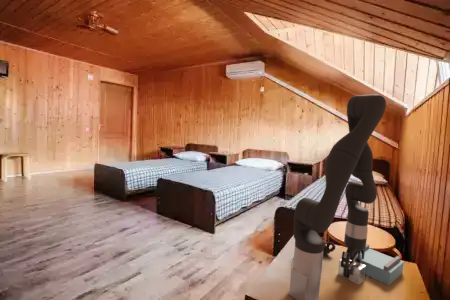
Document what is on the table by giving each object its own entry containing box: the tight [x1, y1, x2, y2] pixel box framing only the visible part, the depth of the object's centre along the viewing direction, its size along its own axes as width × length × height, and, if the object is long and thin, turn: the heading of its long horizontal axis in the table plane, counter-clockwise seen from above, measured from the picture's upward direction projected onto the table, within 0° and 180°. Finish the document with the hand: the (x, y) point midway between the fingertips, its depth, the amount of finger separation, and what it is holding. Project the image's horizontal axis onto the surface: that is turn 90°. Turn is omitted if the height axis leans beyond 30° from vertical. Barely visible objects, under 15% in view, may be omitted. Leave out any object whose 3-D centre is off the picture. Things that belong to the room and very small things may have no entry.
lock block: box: [337, 258, 366, 285], centre depth 101 cm, size 5×8×6 cm, turn 39°
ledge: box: [360, 243, 405, 286], centre depth 108 cm, size 14×16×6 cm
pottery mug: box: [320, 236, 336, 258], centre depth 120 cm, size 12×10×8 cm
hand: (351, 273), depth 101 cm, fingers open, 8 cm apart
